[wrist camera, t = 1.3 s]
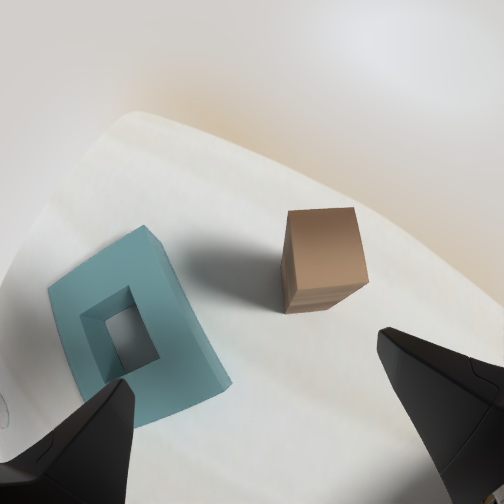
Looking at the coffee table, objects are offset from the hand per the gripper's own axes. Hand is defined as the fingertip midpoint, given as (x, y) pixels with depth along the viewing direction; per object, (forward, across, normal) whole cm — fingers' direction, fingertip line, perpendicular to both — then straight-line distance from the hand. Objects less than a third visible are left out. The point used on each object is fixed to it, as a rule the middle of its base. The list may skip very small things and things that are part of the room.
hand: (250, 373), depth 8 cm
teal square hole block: (+12, +10, +6) cm, 17 cm away
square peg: (+13, -5, +4) cm, 15 cm away
